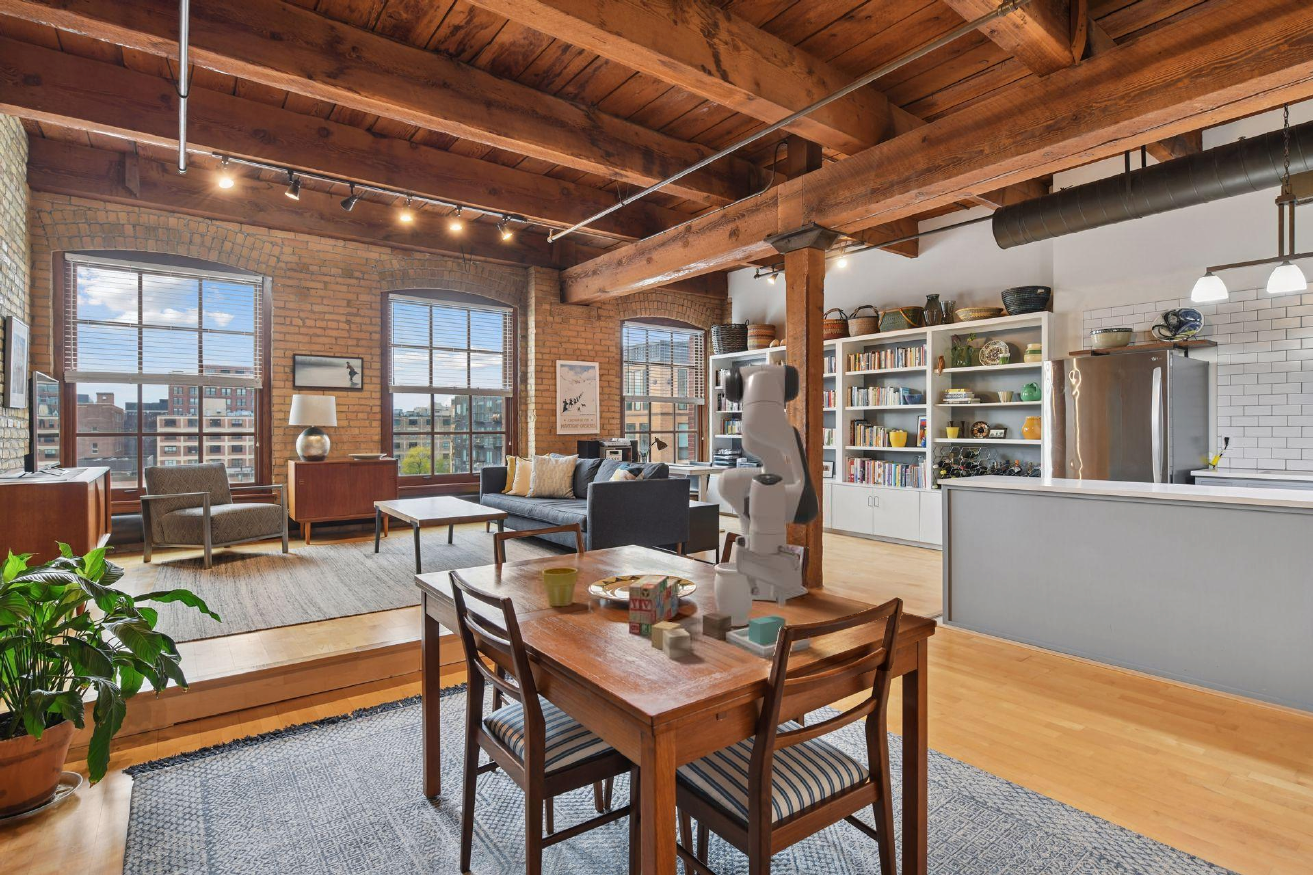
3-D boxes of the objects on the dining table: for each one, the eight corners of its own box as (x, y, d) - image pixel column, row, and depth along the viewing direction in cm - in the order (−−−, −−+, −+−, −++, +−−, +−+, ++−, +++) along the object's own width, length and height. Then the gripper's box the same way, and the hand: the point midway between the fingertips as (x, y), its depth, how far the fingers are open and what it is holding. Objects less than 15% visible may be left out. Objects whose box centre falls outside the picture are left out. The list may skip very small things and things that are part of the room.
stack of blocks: (657, 610, 190) (657, 567, 190) (678, 612, 188) (678, 568, 187) (628, 633, 170) (628, 585, 169) (652, 636, 168) (651, 587, 167)
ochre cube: (663, 641, 164) (663, 620, 164) (680, 644, 161) (680, 624, 161) (651, 647, 160) (651, 626, 159) (669, 650, 157) (669, 629, 157)
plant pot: (546, 598, 202) (546, 566, 202) (580, 599, 202) (580, 566, 202) (538, 608, 192) (538, 574, 192) (575, 608, 191) (574, 574, 191)
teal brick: (774, 634, 165) (774, 614, 165) (785, 639, 161) (785, 618, 161) (748, 640, 161) (748, 619, 160) (759, 645, 157) (759, 624, 157)
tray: (770, 631, 171) (770, 622, 171) (809, 647, 159) (809, 638, 159) (726, 641, 163) (726, 632, 163) (763, 658, 151) (763, 648, 151)
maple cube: (683, 649, 158) (683, 628, 158) (690, 656, 153) (690, 635, 153) (662, 651, 156) (662, 630, 156) (669, 659, 152) (669, 637, 151)
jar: (724, 614, 186) (724, 560, 185) (759, 620, 180) (760, 564, 180) (707, 624, 177) (707, 567, 176) (744, 630, 171) (744, 572, 171)
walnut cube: (716, 630, 172) (716, 611, 172) (731, 635, 168) (731, 615, 168) (702, 635, 168) (702, 615, 168) (717, 639, 165) (717, 619, 164)
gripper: (808, 549, 153) (808, 609, 154) (750, 534, 171) (750, 587, 172) (787, 553, 150) (787, 613, 151) (731, 536, 167) (731, 591, 168)
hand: (767, 599), depth 161 cm, fingers open, 8 cm apart
